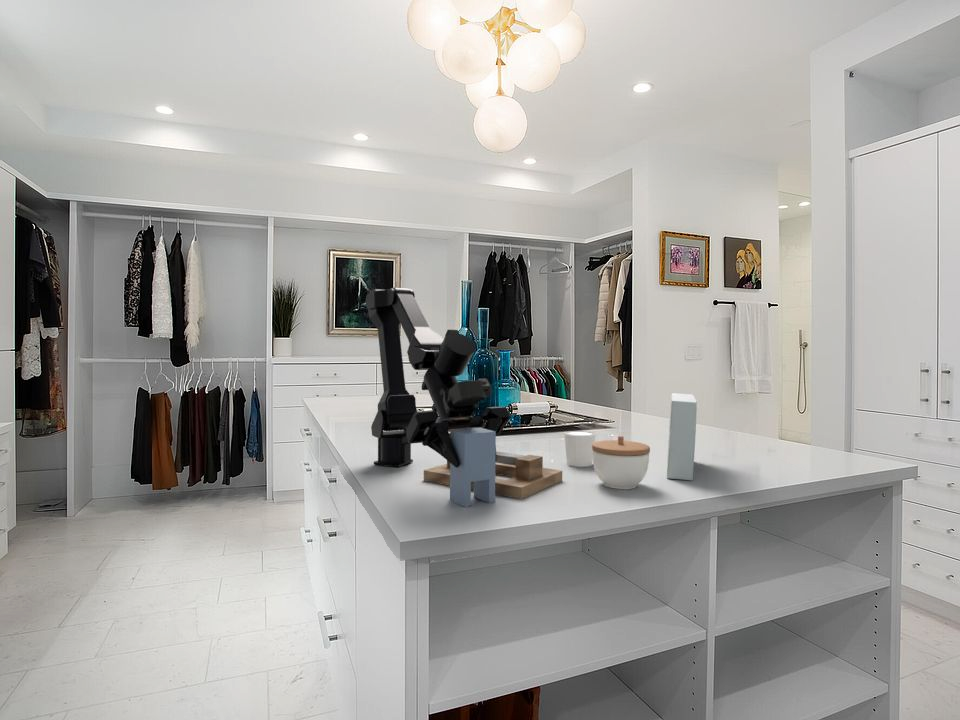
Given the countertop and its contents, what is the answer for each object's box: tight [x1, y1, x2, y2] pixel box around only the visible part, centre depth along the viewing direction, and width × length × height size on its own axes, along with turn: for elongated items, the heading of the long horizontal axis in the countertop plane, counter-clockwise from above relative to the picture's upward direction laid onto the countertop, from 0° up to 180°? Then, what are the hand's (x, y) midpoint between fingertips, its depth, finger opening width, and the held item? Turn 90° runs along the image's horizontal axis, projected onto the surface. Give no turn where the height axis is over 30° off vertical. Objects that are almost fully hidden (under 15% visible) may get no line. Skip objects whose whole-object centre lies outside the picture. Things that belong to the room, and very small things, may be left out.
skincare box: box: [666, 392, 698, 481], centre depth 122 cm, size 21×6×16 cm, turn 161°
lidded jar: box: [592, 435, 651, 490], centre depth 108 cm, size 11×11×9 cm
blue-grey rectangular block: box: [449, 428, 497, 508], centre depth 96 cm, size 6×5×12 cm
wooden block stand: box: [423, 451, 563, 500], centre depth 110 cm, size 22×16×6 cm
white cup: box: [564, 430, 596, 468], centre depth 126 cm, size 7×7×7 cm
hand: (476, 463), depth 95 cm, fingers open, 7 cm apart
